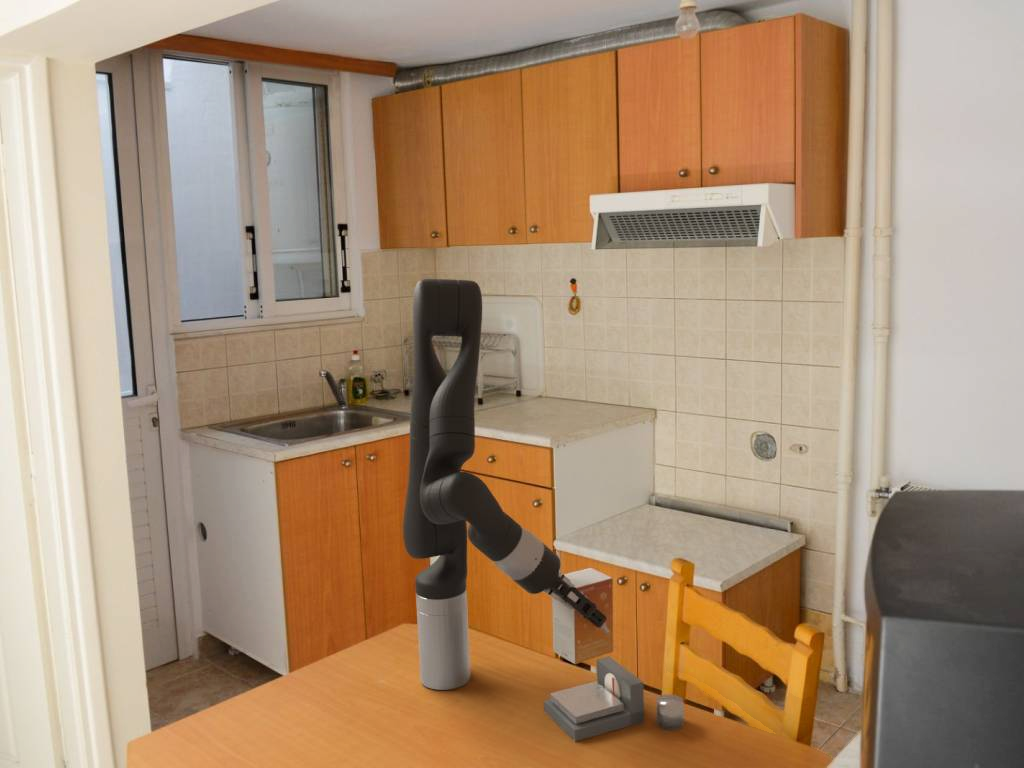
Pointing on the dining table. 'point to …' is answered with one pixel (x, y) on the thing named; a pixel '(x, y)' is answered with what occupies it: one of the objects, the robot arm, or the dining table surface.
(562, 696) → the platter
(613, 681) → the scale base
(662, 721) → the cylinder
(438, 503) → the robot arm
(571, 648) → the small box
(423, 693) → the dining table surface
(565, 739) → the dining table surface
